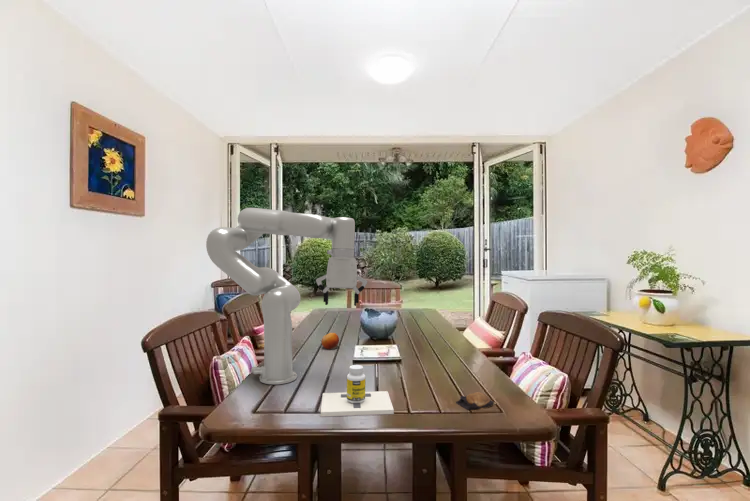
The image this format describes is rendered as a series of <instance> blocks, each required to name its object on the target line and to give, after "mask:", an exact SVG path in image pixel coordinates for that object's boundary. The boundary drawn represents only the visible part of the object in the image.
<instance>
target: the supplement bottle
mask: <svg viewBox="0 0 750 501" xmlns="http://www.w3.org/2000/svg"><path fill="white" fill-rule="evenodd" d="M348 370H349V373H348V374H347V375H346V392H347V401H348V402H351V403H361V402H363V401H364V400H365V392H366V374H364V367H363V365H360V364H353V365H350V366H349V369H348Z"/></svg>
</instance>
